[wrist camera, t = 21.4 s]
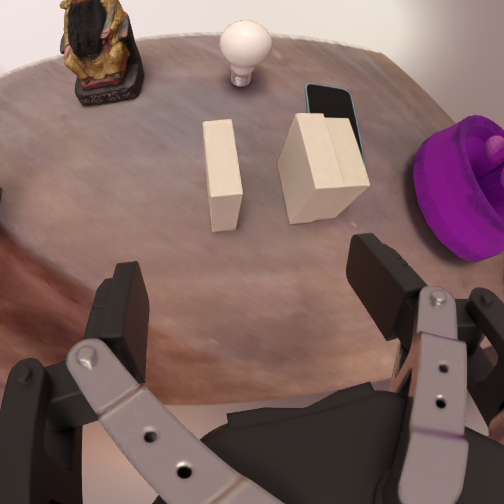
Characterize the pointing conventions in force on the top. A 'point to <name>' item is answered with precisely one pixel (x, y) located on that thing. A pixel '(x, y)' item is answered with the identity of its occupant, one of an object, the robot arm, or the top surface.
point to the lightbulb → (244, 48)
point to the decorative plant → (464, 187)
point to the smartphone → (333, 106)
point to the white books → (320, 168)
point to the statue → (101, 51)
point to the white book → (222, 174)
